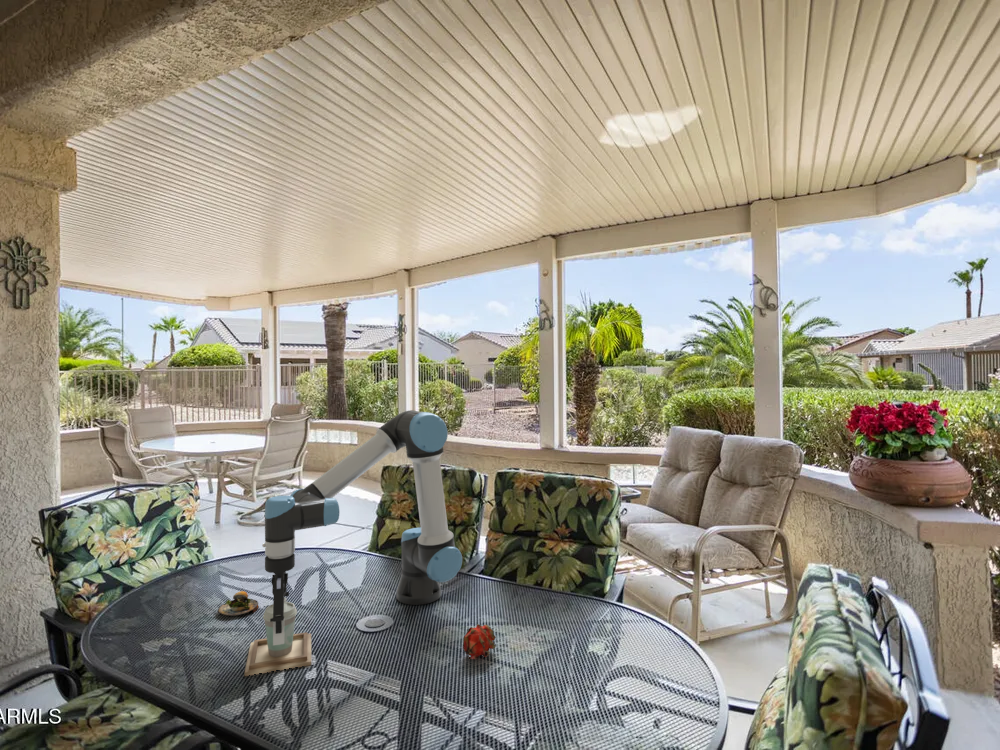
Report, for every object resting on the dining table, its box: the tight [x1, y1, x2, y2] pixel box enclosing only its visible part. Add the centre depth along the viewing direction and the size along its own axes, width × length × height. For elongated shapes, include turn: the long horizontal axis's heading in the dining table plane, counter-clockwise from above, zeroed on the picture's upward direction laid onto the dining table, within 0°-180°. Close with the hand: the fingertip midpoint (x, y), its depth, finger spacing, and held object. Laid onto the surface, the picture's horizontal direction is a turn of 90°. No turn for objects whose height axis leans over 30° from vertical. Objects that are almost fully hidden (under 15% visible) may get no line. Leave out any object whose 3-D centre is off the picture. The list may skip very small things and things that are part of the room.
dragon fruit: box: [462, 623, 497, 661], centre depth 148 cm, size 8×8×12 cm
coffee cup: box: [262, 601, 298, 657], centre depth 148 cm, size 8×8×12 cm
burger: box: [217, 587, 260, 616], centre depth 175 cm, size 12×12×8 cm
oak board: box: [244, 632, 312, 677], centre depth 148 cm, size 16×16×2 cm
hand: (280, 632), depth 148 cm, fingers open, 13 cm apart
